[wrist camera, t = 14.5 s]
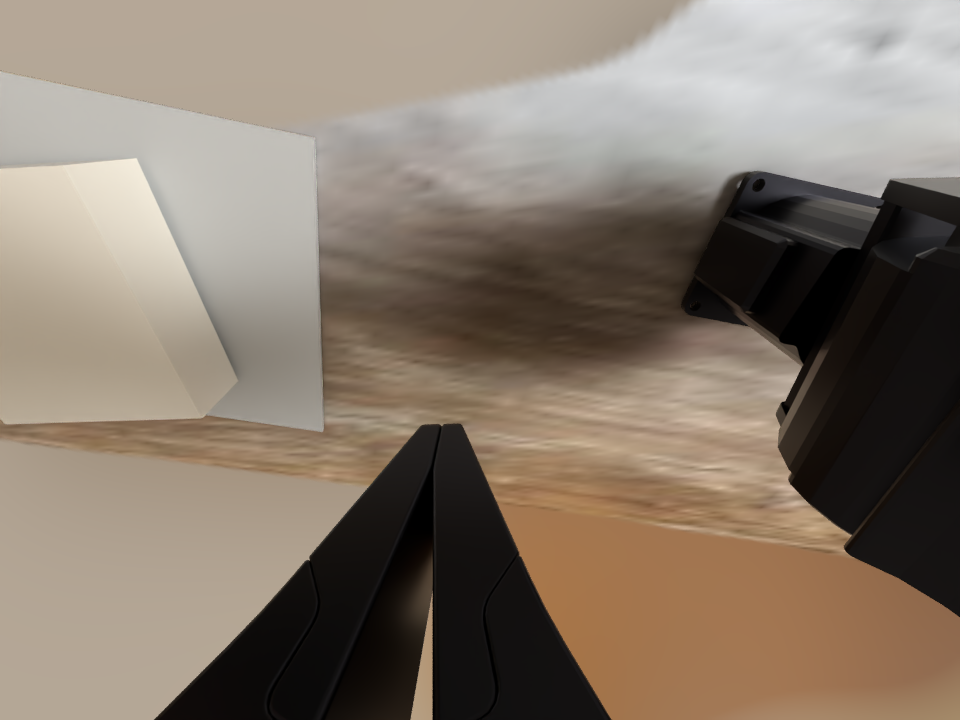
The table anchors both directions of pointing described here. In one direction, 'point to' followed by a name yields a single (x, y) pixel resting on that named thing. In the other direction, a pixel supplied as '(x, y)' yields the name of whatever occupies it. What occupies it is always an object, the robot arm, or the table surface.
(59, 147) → the mat
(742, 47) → the table surface
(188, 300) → the cream block
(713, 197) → the table surface
